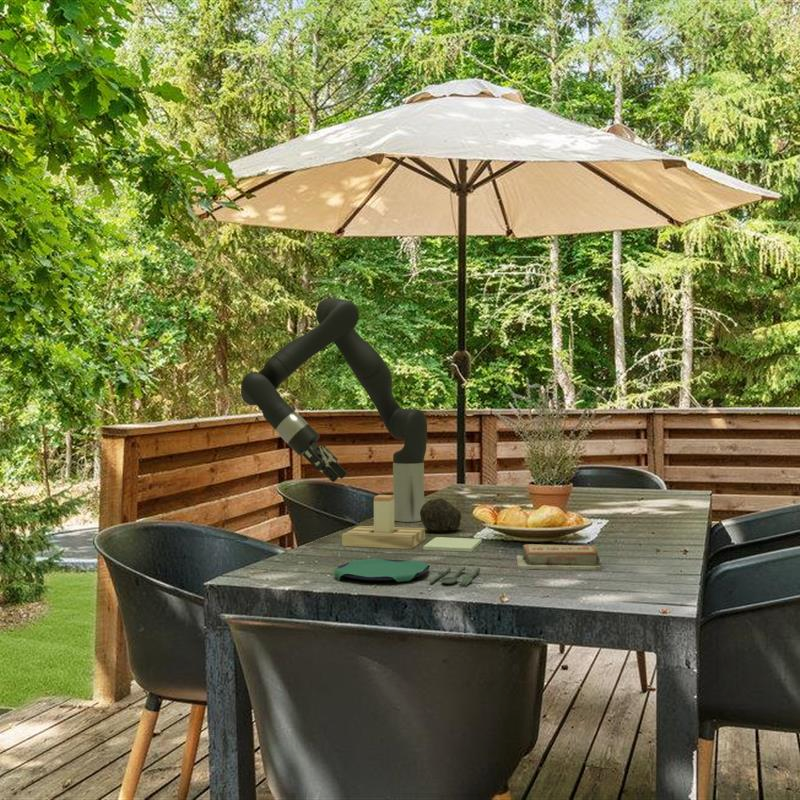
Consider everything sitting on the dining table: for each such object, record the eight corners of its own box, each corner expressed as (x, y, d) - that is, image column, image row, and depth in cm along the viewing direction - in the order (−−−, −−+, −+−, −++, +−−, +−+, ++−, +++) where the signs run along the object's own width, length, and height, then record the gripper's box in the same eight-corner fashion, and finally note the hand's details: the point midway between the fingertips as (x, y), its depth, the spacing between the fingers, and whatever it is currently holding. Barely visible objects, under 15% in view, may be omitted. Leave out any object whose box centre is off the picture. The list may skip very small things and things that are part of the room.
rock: (467, 526, 257) (462, 491, 256) (452, 537, 247) (447, 501, 246) (434, 527, 261) (429, 493, 261) (418, 539, 251) (413, 503, 250)
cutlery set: (355, 565, 209) (355, 555, 209) (485, 573, 199) (485, 563, 199) (321, 583, 190) (321, 572, 190) (462, 593, 180) (462, 581, 180)
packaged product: (595, 542, 210) (601, 550, 200) (595, 563, 210) (601, 572, 200) (516, 541, 211) (518, 549, 201) (516, 562, 211) (518, 571, 202)
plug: (379, 541, 239) (379, 494, 239) (394, 541, 238) (394, 495, 238) (373, 544, 234) (373, 497, 234) (389, 544, 233) (388, 497, 233)
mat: (436, 540, 239) (436, 537, 239) (481, 542, 236) (481, 538, 236) (423, 549, 226) (423, 546, 226) (471, 551, 223) (471, 548, 223)
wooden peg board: (359, 537, 245) (359, 525, 245) (424, 539, 240) (424, 528, 240) (342, 545, 231) (342, 534, 231) (411, 549, 227) (411, 536, 227)
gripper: (299, 424, 232) (343, 470, 230) (314, 422, 246) (356, 465, 244) (279, 445, 233) (323, 491, 231) (295, 441, 247) (337, 485, 245)
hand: (340, 477), depth 238 cm, fingers open, 8 cm apart
